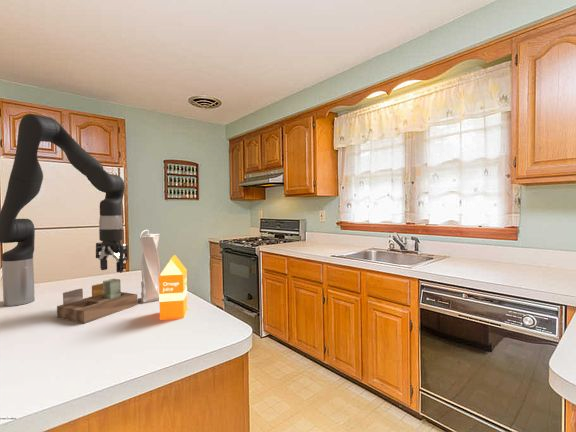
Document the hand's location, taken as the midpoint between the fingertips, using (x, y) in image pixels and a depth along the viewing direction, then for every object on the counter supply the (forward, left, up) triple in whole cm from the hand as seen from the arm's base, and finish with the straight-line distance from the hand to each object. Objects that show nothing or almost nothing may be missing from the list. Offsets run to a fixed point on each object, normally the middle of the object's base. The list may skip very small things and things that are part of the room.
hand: (111, 270), depth 112 cm
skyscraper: (+6, +12, -14) cm, 19 cm away
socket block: (0, -5, -13) cm, 14 cm away
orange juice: (+28, +2, -14) cm, 31 cm away
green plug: (0, 0, -14) cm, 14 cm away
